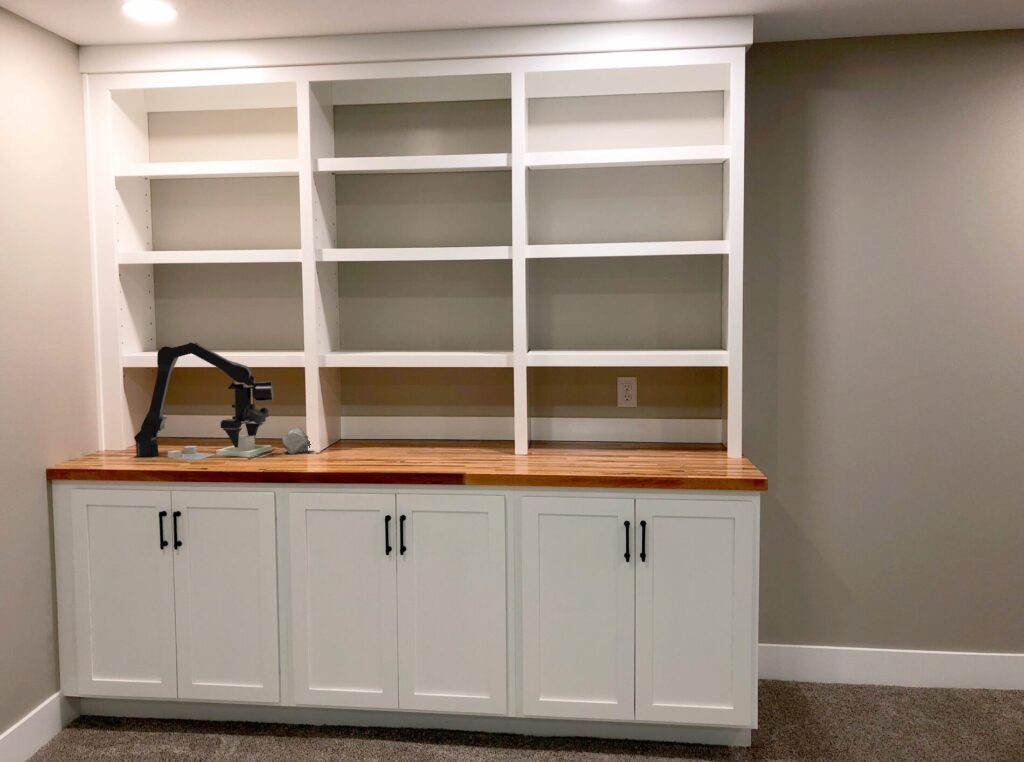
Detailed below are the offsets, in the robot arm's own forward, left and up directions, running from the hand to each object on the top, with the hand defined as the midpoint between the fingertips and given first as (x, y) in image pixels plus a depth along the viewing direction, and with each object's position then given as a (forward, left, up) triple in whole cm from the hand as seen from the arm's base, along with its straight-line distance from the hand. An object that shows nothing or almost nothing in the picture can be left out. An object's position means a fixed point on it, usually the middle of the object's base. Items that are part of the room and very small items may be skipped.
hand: (244, 445), depth 298 cm
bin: (0, 0, -4) cm, 4 cm away
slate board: (-13, -11, -4) cm, 17 cm away
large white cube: (0, 0, -3) cm, 3 cm away
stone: (+15, +9, -4) cm, 18 cm away
